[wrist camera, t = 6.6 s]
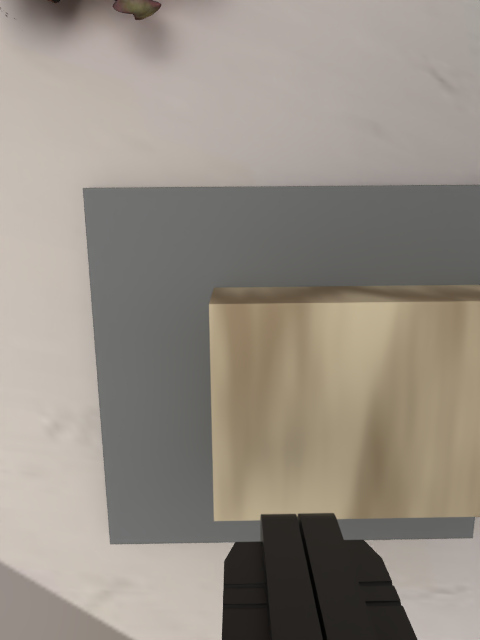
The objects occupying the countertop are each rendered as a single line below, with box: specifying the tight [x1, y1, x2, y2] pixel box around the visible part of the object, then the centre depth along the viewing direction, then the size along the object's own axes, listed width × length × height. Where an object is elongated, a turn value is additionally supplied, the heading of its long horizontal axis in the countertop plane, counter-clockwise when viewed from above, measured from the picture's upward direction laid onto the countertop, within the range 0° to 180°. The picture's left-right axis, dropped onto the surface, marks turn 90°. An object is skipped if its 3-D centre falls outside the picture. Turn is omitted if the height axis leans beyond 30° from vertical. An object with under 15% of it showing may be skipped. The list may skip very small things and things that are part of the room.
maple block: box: [209, 285, 480, 521], centre depth 18 cm, size 4×8×12 cm
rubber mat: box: [83, 185, 480, 544], centre depth 20 cm, size 17×16×1 cm
